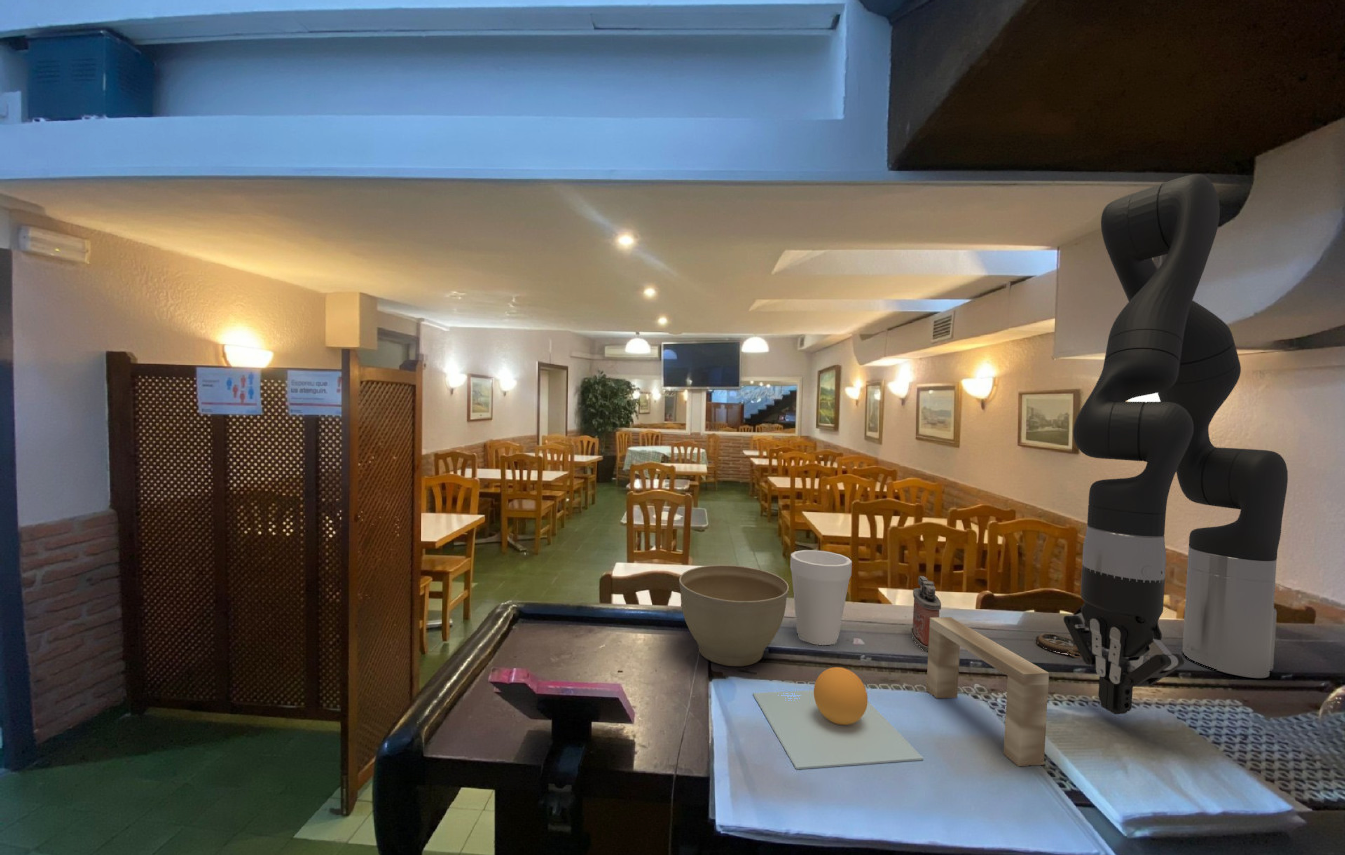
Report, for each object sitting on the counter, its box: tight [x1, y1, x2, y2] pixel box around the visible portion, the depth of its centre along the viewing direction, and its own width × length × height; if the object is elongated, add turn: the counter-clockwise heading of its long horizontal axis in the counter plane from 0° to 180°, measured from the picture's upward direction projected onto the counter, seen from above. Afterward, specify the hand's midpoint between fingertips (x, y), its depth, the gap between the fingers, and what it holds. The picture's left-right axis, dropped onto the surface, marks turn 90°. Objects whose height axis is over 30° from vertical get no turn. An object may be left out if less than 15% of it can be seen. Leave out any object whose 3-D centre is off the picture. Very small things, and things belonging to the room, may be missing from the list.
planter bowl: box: [678, 564, 790, 667], centre depth 78 cm, size 16×16×11 cm
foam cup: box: [789, 549, 853, 645], centre depth 84 cm, size 10×9×13 cm
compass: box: [1035, 605, 1090, 658], centre depth 83 cm, size 8×8×7 cm
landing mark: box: [752, 689, 924, 770], centre depth 60 cm, size 14×14×1 cm
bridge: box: [925, 616, 1050, 767], centre depth 62 cm, size 3×15×10 cm, turn 9°
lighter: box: [910, 575, 942, 652], centre depth 84 cm, size 8×3×10 cm, turn 168°
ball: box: [813, 666, 869, 725], centre depth 61 cm, size 6×6×6 cm
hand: (1113, 710), depth 63 cm, fingers closed
